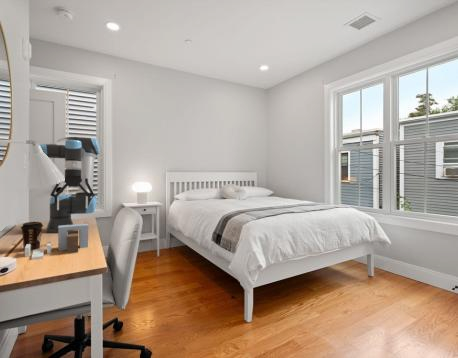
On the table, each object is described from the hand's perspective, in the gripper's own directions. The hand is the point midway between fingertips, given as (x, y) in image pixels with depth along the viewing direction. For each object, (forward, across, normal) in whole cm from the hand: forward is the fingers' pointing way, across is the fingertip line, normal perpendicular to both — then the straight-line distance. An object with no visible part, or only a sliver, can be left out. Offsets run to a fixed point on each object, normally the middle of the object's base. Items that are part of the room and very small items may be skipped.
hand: (72, 208), depth 137 cm
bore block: (+19, 0, -10) cm, 21 cm away
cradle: (+19, -14, -15) cm, 28 cm away
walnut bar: (+19, 0, -12) cm, 23 cm away
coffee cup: (+19, -17, -2) cm, 25 cm away
